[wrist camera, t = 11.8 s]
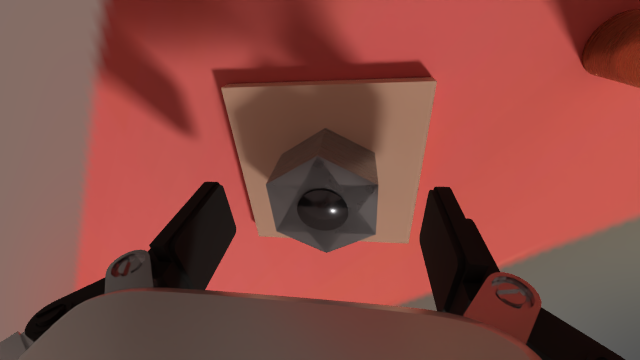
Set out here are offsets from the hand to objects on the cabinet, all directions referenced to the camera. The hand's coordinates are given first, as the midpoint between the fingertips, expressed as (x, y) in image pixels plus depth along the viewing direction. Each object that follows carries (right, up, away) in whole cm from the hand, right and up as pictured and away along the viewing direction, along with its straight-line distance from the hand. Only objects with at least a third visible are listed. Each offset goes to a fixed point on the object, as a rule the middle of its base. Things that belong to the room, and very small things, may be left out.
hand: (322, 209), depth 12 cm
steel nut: (0, +2, +3) cm, 3 cm away
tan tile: (0, +2, +3) cm, 4 cm away
